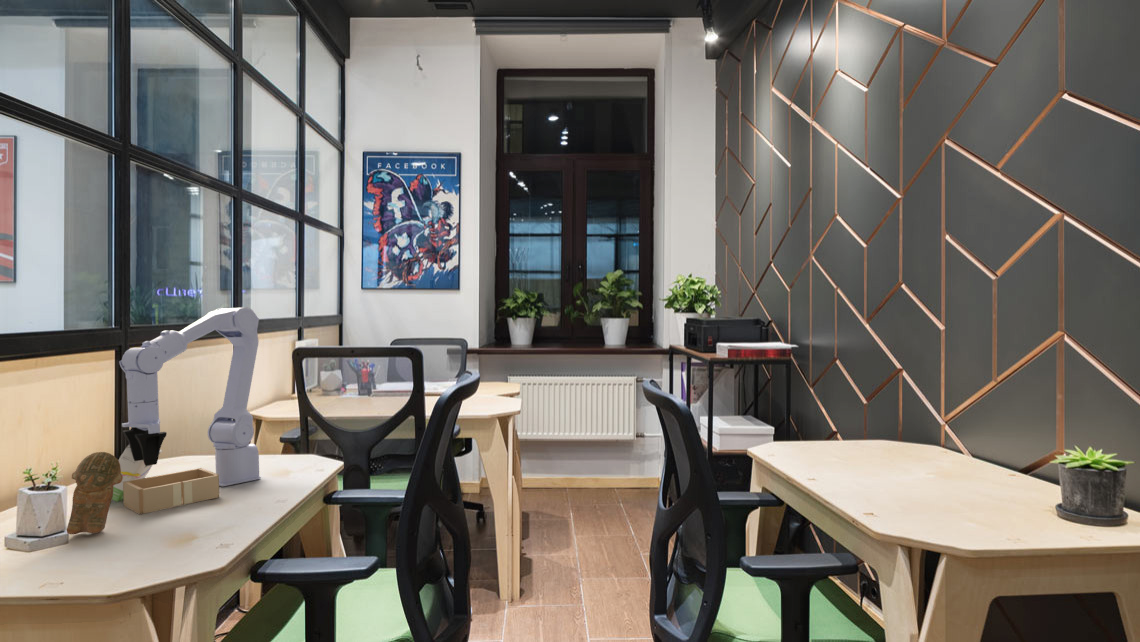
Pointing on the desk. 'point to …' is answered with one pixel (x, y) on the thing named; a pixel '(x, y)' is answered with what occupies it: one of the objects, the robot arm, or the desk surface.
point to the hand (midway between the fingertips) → (145, 462)
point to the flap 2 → (199, 489)
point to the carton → (135, 492)
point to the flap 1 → (162, 497)
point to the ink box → (129, 472)
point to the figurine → (93, 492)
